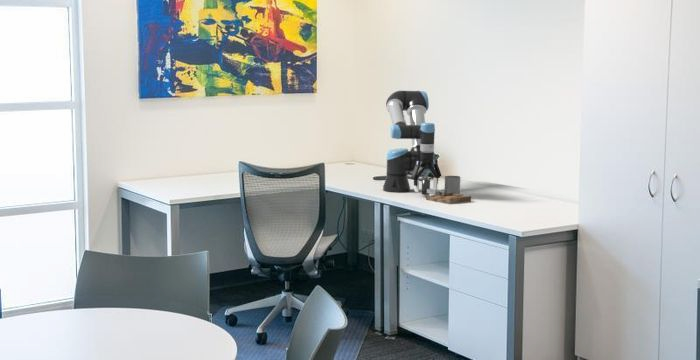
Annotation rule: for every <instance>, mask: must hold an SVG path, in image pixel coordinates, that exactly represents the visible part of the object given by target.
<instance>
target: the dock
mask: <svg viewBox="0 0 700 360" xmlns="http://www.w3.org/2000/svg"><path fill="white" fill-rule="evenodd" d="M440 191H445V190H440ZM425 200H427V201H431V202H436V203H442V204H448V205H453V204H459V203H467V202H468V203H469V202H471V200H472V197H471V195H465V194H461V193H460V194H456V193H446V191H445V195H444V196H442V194H440V192H439V191H435V194H432V195H429V196H428V195H427V196H426V197H425Z"/></svg>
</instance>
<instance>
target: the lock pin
mask: <svg viewBox="0 0 700 360" xmlns="http://www.w3.org/2000/svg"><path fill="white" fill-rule="evenodd" d="M435 191H439V192H440V194H442V196H444V195H445V190H443V191H441V190H438V189H437V190H434V189H433V188H431V179H429V178H422V179H421V195H423V196H425V195H426V196H428V195H429V196H431V195H435Z"/></svg>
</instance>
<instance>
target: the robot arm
mask: <svg viewBox="0 0 700 360" xmlns="http://www.w3.org/2000/svg"><path fill="white" fill-rule="evenodd" d="M429 104H430V103H429V96H428V94H427V92H426V91H424V90H423V91H422V90H397V91H395V92H392V93H391V94H390V95H389V97H387V99H386V101H385V108H386V110H387V112H388V113H389V116H390V119H391V124H392V125H391V126H390V137H391V139H395V140H405V139H406V140H409V139H410V140H411V144H412V147H410V150H409V149H408V148H406V147H405V148H394V149H391V150H388V151H387V153H386V177H385V180H384V183H383V185H382V191H385V192H390V193H407V192H410V191H411V186H410V182H409V178H408V173H412V174H411V176H410V179H412V180H413V186H414V187H413V188H414V192H416V193H420V192H419V191H420V180H419V179H420V176H421V175H422V174H423V173H431V174H432V176H433V177H432V179H433V180H432V189H434V190H438V184H439V179H440V177H442V173H441V169H440V167H439V163H438V160H437V159H435V134H436V133H435V131H436V127H435V123H434V122H426V120H425V114H426V113H427V111H428V110H429V106H430V105H429ZM404 112H406V115H407V116H409V125H408V124H407V121H406V117H405V114H404Z"/></svg>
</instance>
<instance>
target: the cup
mask: <svg viewBox="0 0 700 360" xmlns="http://www.w3.org/2000/svg"><path fill="white" fill-rule="evenodd" d="M444 191H446V193H456V194H461V176H459V175H445V176H444Z"/></svg>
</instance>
